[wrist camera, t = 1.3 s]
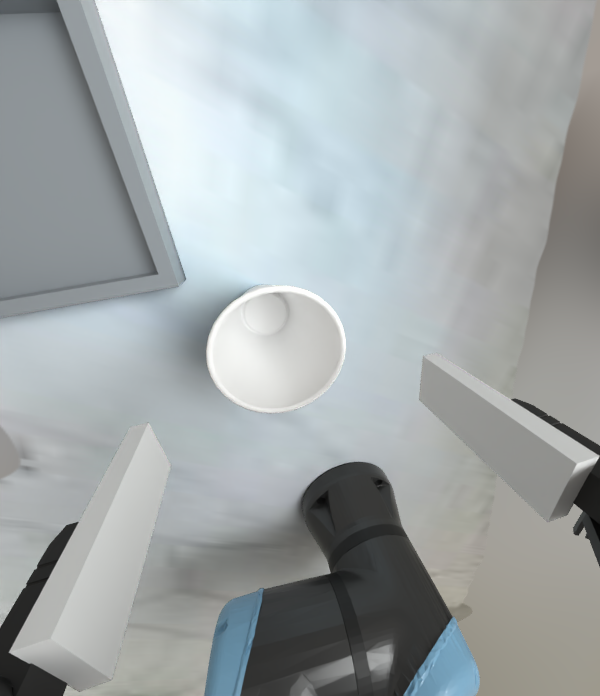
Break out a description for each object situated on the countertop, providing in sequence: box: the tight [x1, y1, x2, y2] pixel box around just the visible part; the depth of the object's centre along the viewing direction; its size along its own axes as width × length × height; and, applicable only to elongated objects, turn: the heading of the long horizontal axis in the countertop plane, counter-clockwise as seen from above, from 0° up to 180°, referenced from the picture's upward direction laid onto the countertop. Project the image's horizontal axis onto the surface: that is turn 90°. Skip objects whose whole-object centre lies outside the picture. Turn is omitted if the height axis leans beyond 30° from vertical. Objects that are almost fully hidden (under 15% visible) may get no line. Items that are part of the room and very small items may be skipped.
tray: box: [0, 0, 186, 318], centre depth 18 cm, size 18×18×4 cm
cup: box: [206, 285, 346, 413], centre depth 23 cm, size 10×10×11 cm
